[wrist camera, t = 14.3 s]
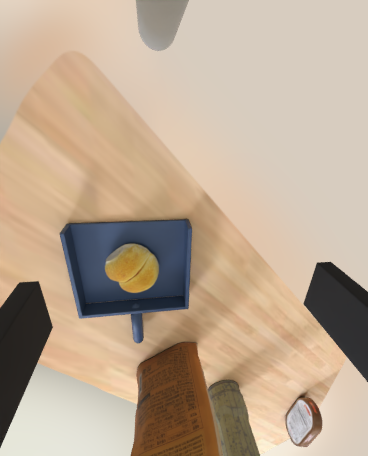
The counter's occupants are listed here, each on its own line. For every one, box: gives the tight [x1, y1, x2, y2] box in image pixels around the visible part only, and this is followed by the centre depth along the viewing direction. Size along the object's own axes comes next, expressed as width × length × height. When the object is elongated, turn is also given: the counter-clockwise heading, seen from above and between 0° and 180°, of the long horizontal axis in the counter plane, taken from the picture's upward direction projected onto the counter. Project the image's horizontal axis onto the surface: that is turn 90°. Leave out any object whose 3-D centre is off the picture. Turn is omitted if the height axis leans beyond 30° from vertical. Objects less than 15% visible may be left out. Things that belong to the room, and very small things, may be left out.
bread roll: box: [105, 244, 159, 293], centre depth 39 cm, size 8×9×4 cm
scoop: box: [60, 219, 192, 343], centre depth 42 cm, size 26×19×4 cm
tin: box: [286, 398, 322, 447], centre depth 68 cm, size 15×3×8 cm, turn 166°
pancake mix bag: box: [131, 342, 223, 456], centre depth 41 cm, size 7×19×28 cm, turn 121°
